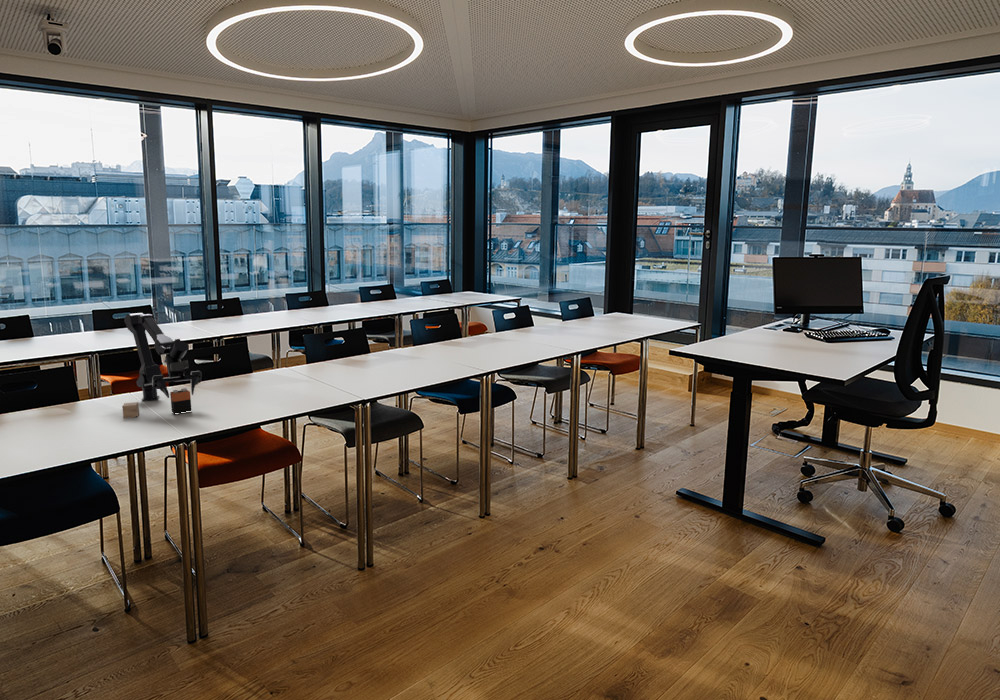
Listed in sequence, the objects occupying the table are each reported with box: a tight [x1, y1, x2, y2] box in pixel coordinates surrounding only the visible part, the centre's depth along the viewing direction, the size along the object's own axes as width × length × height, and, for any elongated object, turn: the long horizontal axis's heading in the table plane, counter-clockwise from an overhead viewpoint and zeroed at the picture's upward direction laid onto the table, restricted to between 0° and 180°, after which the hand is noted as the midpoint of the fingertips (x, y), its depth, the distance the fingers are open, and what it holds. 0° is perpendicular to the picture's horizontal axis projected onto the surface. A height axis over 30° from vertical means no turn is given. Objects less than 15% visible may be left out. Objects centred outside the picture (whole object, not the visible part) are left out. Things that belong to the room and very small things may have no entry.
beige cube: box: [122, 401, 140, 419], centre depth 278 cm, size 5×5×5 cm
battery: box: [169, 387, 192, 415], centre depth 283 cm, size 4×7×10 cm, turn 131°
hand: (180, 395), depth 282 cm, fingers open, 9 cm apart
